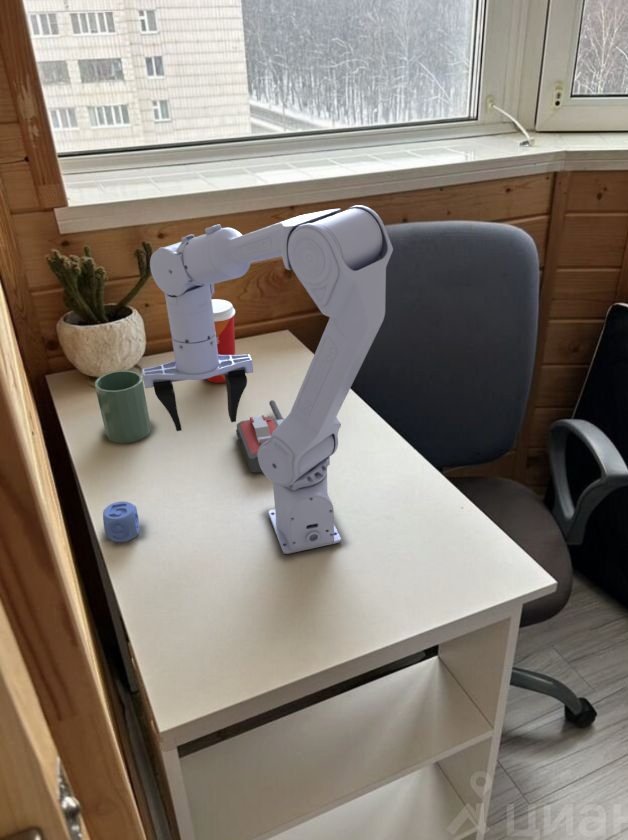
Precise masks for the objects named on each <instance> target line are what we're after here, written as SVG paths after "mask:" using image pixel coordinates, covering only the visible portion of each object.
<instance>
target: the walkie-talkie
mask: <svg viewBox="0 0 628 840" xmlns="http://www.w3.org/2000/svg"><path fill="white" fill-rule="evenodd" d="M268 404H269V406H270V409H271V411H272V413H273V415H274V417H272V416H265V415H256V416H255V415H254V416H249V419H246V420H241V421H239V422H238V423H236V429H235V431H236V436H237V439H238V442H239V445H240V448H241V450H242V452H243V456H244V458H245V460H246V463H247V466H248V468H249V471H250V472H252V473H255V474H257V473H263V472H262V470H261V468H260V465H259V461H258V449H259V447H260V445H261V444H263V443H264V442H266V441H268V440H269V439H270V437H271V435H272V433H273V431H274V430H275V429H276V428H277V427H278V426H279V425H280V424H281V423H282V422H283V420H284V419H285V418H284V417H283V416H282V414H281V411H280V409H279V407H278V405H277V403H276V401H275V400H274V399H273V400H272V399H271V400H270V401H269V402H268Z"/></svg>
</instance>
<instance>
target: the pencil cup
mask: <svg viewBox="0 0 628 840" xmlns="http://www.w3.org/2000/svg"><path fill="white" fill-rule="evenodd" d="M94 389H95V392H96V397H97V402H98V406H99V410H100V414H101V420H102V422H103V427H104V432H105V436H106V438H107V439H108V440H109V441H111V442H112V443H117V444H129V443H135V442H138V441H141V440H143V439H145V438H146V437H148V436H149V435H150V433H151V432H152V426H151V420H150V414H149V409H148V404H147V399H146V394H145V386H144V381H143V375H141V374H140V373H138V372H136V371H133V370H116V371H111V372H108V373H104V374H102V375H100V376H99V377H97V379H96V380H95V381H94Z"/></svg>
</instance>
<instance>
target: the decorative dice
mask: <svg viewBox="0 0 628 840" xmlns="http://www.w3.org/2000/svg"><path fill="white" fill-rule="evenodd" d="M102 520H103V521H102V522H103V530H104V534H105V536H106V537H105V538H107V539H109V541H110V540H111V541H112V542H115V543H125V542H129V541H131V540H133V539H135V538H136V537H137V536H138V535H139V534H140V520H139V512H138V509H137V506H136V505H135V504H133V503H132V502H129V501H122V500H121V501H116V502H113V503H110V504H109V505H108V506H105V508H104V509H103V512H102Z"/></svg>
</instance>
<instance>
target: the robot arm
mask: <svg viewBox="0 0 628 840" xmlns="http://www.w3.org/2000/svg"><path fill="white" fill-rule="evenodd" d="M204 231H205V234H201V235H198V236H195V235H194V234H193V233H192V234H188V235H186V236H182V237H181V241H178V242H176V243H173V244H170V245H167V246H160V247H158V249H156V250H154V252H152V253H151V256H150V260H149V268H150V273H151V276H152V278H153V281H154V283H155V284H156V286H157V287H158V289H160V290H161V291H162V292H163V293H164V298H165V299H164V300H165V304H166V310H167V318H168V324H169V329H170V336H171V343H172V349H173V356H174V360H172V361H169V362H165V363H163V364H158V365H156V366H152V367H146V368H142V369H141V372H142V379H143V384H144V389H150V388H151V389H152V388H153V389H154V390H153V391H154V394H155V396H156V398H157V399H158V401H160V403H161V404H162V405H163V406H164V408H165V410H166V411H167V413H168V415H169V416H170V419H171V420H172V422H173V424H174V426H175V431H176V432H181V431H182V424H181V420H180V417H179V412H178V407H177V400H176V392H175V390H174V384H173V383H176V382H180V381H182V382H183V381H201V380H207V378H210V377H213V376H217V375H225V381H226V382H225V387H226V392H227V393H226V396H227V397H226V398H227V399H226V400H227V412H228V417H229V419H230V422H231V423H236V422H237V416H238V409H239V405H240V401H241V398H242V395H243V393H244V392H245V389H246V387H247V386H248V377H247V376H246V374H252V373H254V366H253V365H254V364H253V358H252V357H251V355H250V354H249V353H248V354H235V355H218V349H217V341H216V332H215V324H214V316H213V307H212V298H213V296H214V294H215V284H219V283H222V282H226V281H231V280H235V279H239V278H242V277H243V276H245V275H246V274H247V272H248V271H249V269H250V266H251V264H252V263H257V262H261V261H266V260H272V259H276V258H277V259H278V258H281V260H282V263H283V265H284V269H286V270H287V271H291V270H292V271H293V273H294V274H295V276H296V277H297V280H299V282H300V283H301V285H302V286H303V287H304V289H305V291H306V292H307V293H308V295H309V296H310V298H311V299H312V301H313V302H314V304H315V306H317V308H318V310H319V311H320V312H321V314H322V315H324V316H325V317H328V322H327V324H326V326H325V328H324V330H323V333H322V335H321V337H320V341H319V343H318V345H317V348H316V350H315V352H314V355H313V357H312V359H311V362H310V365H309V367H308V369H307V371H306V374H305V376H304V379H303V381H302V383H301V385H300V388H299V391H298V393H297V395H296V397H295V400H294V402H293V405H292V407H291V410H290V412H289V413H288V415H286V417H285V418H284V420H283V422H282V423H281V424H280V425H279V426H278V427H277V428H276V429H275V430H274V431H273V433H272V435H271V437H270V439H269V440H268V441H266V442H264V443H263V444H261V445H260V447H259V449H258V461H259V465H260V468H261V470H262V472H261V473H263V474H264V477H266V478H267V479H268V480H269V481H270V482H272V486H273V487H272V489H273V500H274V501H273V502H274V509H269V510H268V516H269V517H268V518H269V520H270V521H271V526H272V528H273V530H274V533H275V536H276V537H277V540H278V543H279V546H280V548H281V551H282V553H283V554H285V555H288V554H294V553H299V552H302V551H306V550H307V551H308V550H312V549H316V548H320V547H326V546H330V545H334V544H338V543H341V542H342V537H341V535H340V533H339V531H338V529H337V527H336V525H335V517H334V516H335V513H334V505H333V502H332V500H331V498H330V496H329V492H328V467H329V466H330V463H331V461H330V459H331V458H330V457H331V456H333V455H334V454H335V453H336V452H337V450H338V447H339V438H338V437H339V431H340V429H341V427H342V423H341V422H340V420H339V419H338V418H337V416H338V414H339V412H340V410H341V408H342V406H343V404H344V402H345V400H346V398H347V396H348V394H349V391H350V390H351V387H352V385H353V383H354V381H355V380H356V377H357V376H358V373H359V371H360V369H361V367H362V365H363V363H364V361H365V359H366V357H367V355H368V353H369V351H370V349H371V346H372V344H373V343H374V341H375V338H376V337H377V334H378V332H379V331H380V328H381V327H382V324H383V322H384V319H385V315H386V292H387V291H386V288H387V286H386V283H387V266H388V263H389V261H390V259H391V257H392V253H393V251H394V247H393V245H392V242H391V239H390V237H389V234H388V232H387V229H386V227H385V225H384V222H383V220H382V218H381V217H380V216H379V214H378V213H377V212H376V211H375V210H373V209H372V208H370V207H369V206H365V205H359V204H358V205H353V206H350V207H348V208H347V209H346V210H344V211H342V209H341V208H332V209H327V210H321V211H316V212H311V213H305V214H302V215H297V216H295V217H291V218H288V219H285V220H283V221H280V222H277V223H275V224H271V225H269V226H266V227H265V226H264V227H263V228H260V229H257V230H254V231H251V232H249V233H245V234H242V233H241V232H240V231H238V230H237V229H235V228H233V227H222V226H221V224H220V223H219V224H218V223H217V224H215V225H212V226H208V227H206V228H205V229H204Z"/></svg>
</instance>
